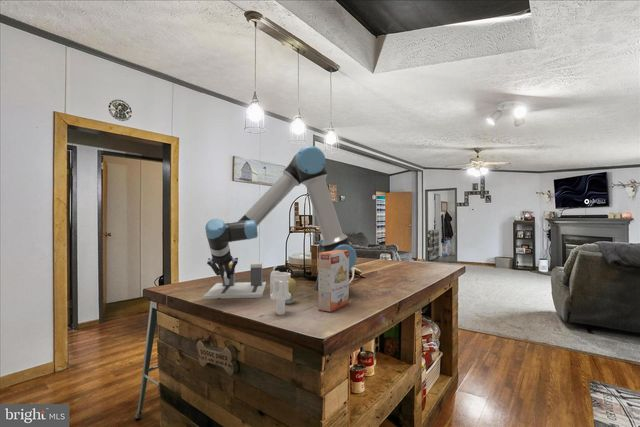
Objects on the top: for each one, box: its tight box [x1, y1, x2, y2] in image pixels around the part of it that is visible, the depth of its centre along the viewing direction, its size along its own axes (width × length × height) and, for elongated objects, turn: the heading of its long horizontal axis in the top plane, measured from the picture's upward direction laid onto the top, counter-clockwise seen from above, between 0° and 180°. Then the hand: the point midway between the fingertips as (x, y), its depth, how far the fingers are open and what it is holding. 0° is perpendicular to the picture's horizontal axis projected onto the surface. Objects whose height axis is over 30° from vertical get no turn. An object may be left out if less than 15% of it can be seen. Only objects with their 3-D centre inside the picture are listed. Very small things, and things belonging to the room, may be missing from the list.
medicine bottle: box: [269, 265, 288, 296], centre depth 146 cm, size 7×7×12 cm
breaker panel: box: [202, 281, 267, 300], centre depth 151 cm, size 26×24×1 cm
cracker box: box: [317, 250, 350, 313], centre depth 124 cm, size 14×6×21 cm, turn 148°
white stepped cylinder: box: [269, 271, 292, 316], centre depth 116 cm, size 7×7×15 cm
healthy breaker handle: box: [250, 262, 263, 286], centre depth 157 cm, size 4×5×10 cm
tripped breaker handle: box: [222, 262, 236, 286], centre depth 157 cm, size 4×5×10 cm
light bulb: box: [285, 277, 297, 305], centre depth 130 cm, size 6×6×10 cm
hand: (227, 282), depth 154 cm, fingers closed
